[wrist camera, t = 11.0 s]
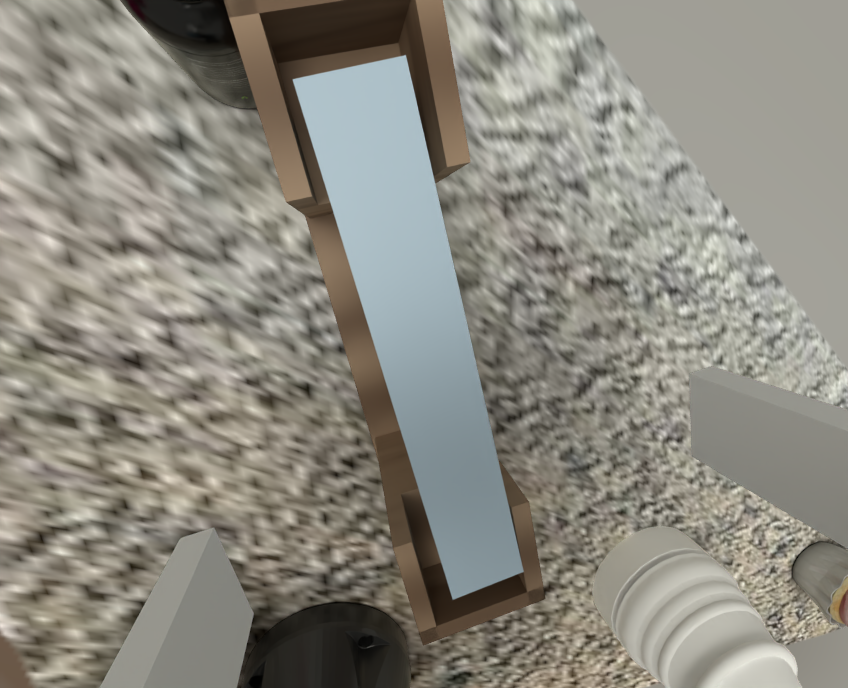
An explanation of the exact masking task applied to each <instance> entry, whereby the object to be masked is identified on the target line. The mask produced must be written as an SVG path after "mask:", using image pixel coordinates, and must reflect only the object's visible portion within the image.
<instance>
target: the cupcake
mask: <svg viewBox="0 0 848 688" xmlns="http://www.w3.org/2000/svg"><path fill="white" fill-rule="evenodd" d="M793 578H794V580H795V581H796V583H797V584H798V585H799V586H800V587H801V588H802V589H803V590H804V591H805V592H806V593H807V595H808V596H809V597H810V598H811V599H812V600H813V601H814V602H815V604H816V605H817V606H818V607H819V609H820V610H821V611H822V613H823V614H824V616H825V617H826V618H827V620H828V621H829V622H830V624H832V625H834V624H837V625H838V627H839V628H841V629H843V628H845V627H847V626H848V550H845V549H843V548H841V547H838V546H836V545H834V544H831V543H826V542H819V543H816V544H813V545H811V546H810V547H808V548H807V549H806V550H804V551H803V552H802V553H801V554H800V556H799V557H798V558H797V560H796V562H795V564H794V567H793Z"/></svg>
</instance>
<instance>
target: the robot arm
mask: <svg viewBox="0 0 848 688" xmlns="http://www.w3.org/2000/svg"><path fill="white" fill-rule="evenodd" d="M689 386H690V417H691V448H692V457H694V458H696V459H697V460H699V461H701V462H702V463H704V464H706V465H707V466H709V467H711V468H712V469H714V470H716V471H717V472H719V473H721V474H722V475H724V476H726V477H727V478H729V479H731V480H733V481H734V482H736V483H738V484H739V485H741V486H743V487H744V488H746V489H748V490H749V491H751V492H753V493H754V494H756V495H758V496H759V497H761V498H763V499H764V500H766V501H768V502H770V503H771V504H773V505H775V506H776V507H778V508H780V509H781V510H783V511H785V512H786V513H788V514H790V515H791V516H793V517H795V518H796V519H798V520H800V521H801V522H803V523H805V524H807V525H808V526H810V527H812V528H813V529H815V530H817V531H818V532H820V533H822V534H823V535H825V536H827V537H828V538H830V539H832V540H833V541H835V542H837V543H838V544H840V545H842V546H844V547H845V548H847V549H848V410H847V409H844V408H841V407H838V406H835V405H832V404H828V403H825V402H822V401H819V400H816V399H813V398H810V397H807V396H804V395H800V394H797V393H794V392H791V391H788V390H785V389H782V388H779V387H776V386H772V385H769V384H766V383H763V382H760V381H757V380H754V379H751V378H748V377H744V376H741V375H738V374H735V373H732V372H729V371H726V370H723V369H719V368H716V367H713V366H711V367H708V368H705V369H701V370H698V371H695V372H692V373H689ZM253 615H254V613H253V611H252V608H251V606H250V604H249V602H248V600H247V598H246V595H245V593H244V591H243V589H242V587H241V585H240V582H239V580H238V578H237V576H236V574H235V572H234V569H233V567H232V565H231V563H230V561H229V559H228V557H227V554H226V552H225V550H224V548H223V546H222V544H221V541H220V539H219V537H218V535H217V533H216V531H215V528H211V529H208V530H204V531H201V532H198V533H195V534H192V535H189V536H186V537H183V538H180V540H179V542H178V544H177V545H176V547H175V549H174V551H173V553H172V555H171V557H170V558H169V560H168V562H167V564H166V566H165V568H164V570H163V571H162V573H161V575H160V577H159V579H158V581H157V582H156V584H155V586H154V588H153V590H152V592H151V594H150V595H149V597H148V599H147V601H146V603H145V605H144V606H143V608H142V610H141V612H140V614H139V616H138V618H137V619H136V621H135V623H134V625H133V627H132V629H131V630H130V632H129V634H128V636H127V638H126V640H125V642H124V643H123V645H122V647H121V649H120V651H119V653H118V655H117V656H116V658H115V660H114V662H113V664H112V666H111V667H110V669H109V671H108V673H107V675H106V677H105V679H104V680H103V682H102V684H101V686H100V688H237V685H238V680H239V676H240V672H241V667H242V663H243V659H244V654H245V650H246V646H247V641H248V637H249V633H250V628H251V624H252V620H253ZM410 681H411V667H410V660H409V654H408V648H407V642H406V639H405V636H404V634H403V632H402V630H401V629H400V627H399V626H398V625H397V624H396V623H395V622H394V621H393V620H392V619H391V618H390V617H388V616H387V615H386V614H384V613H382V612H380V611H378V610H376V609H373V608H370V607H367V606H363V605H358V604H348V603H337V604H328V605H322V606H317V607H313V608H310V609H307V610H304V611H301V612H299V613H297V614H294V615H292V616H290V617H288V618H287V619H285V620H283V621H282V622H280V623H279V624H277V625H276V626H274V627H273V628H272V629H271V630H270V631H268V632H267V633H266V634H265V635H264V636H263V637H262V638H261V640H260V641H259V642H258V643H257V645H256V646H255V647H254V649H253V651H252V652H251V654H250V656H249V659H248V661H247V664H246V668H245V672H244V677H243V681H242V686H241V688H410Z"/></svg>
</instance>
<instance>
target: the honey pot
mask: <svg viewBox="0 0 848 688" xmlns="http://www.w3.org/2000/svg"><path fill="white" fill-rule="evenodd" d="M592 595H593V602H594V604H595V606H596V608H597V610H598V612H599V613H600V615H601V616H602V617H603V619H604V620H605V622H606V623H607V625H608V626H609V628H610V629H611V631H612V632H613V633H614V635H615V636H616V638H617V639H618V640H619V641H620V643H621V645H622V646H623V647H624V648H625V649H626V651H627V653H628V655H629V656H630V657H631V658H632V659H633V660H634V661H635V662H636V663H637V664H638V665H640V666H641V667H642V668H644V669H646V670H648V672H649V673H650V674H651V675H652V676H653V677H654V678H656V679H657V680H658V681H659V682H661V683H663V685H664V687H665V688H802V686H801V684H800V682H799V680H798V679H797V670H798V667H797V664H796V661H795V658H794V656H793V654H792V653H791V652H790V651H789V650H788V649H787V648H786V647H785V646H784V645H782V644H780V643H777V642H775V640H774V639H773V637H772V636H771V634H770V633H769V631H768V630H767V628H766V627H765V625H764V623H763V620H762V617H761V615H760V614H759V613H758V612H757V611H756V610H755V609H754V607H753V606H751V604H750V601H749V600H748V598H747V597H746V596H745V595H744V594H743V593H742V592H741V590H740V589H739V586H738V583H737V581H736V580H735V579H734V578H733V576H732V575H731V574H730V573H729V572H728V571H727V570H726V568H725V567H723V566H722V565H720V564H719V563H718V562H717V561H716V560H715V559H713V558H712V557H711V556H710V554H708V553H707V552H706V551H705V550H704V549H703V548H701V547H700V546H699V545H698V544H697V543H696V542H694V541H693V540H692V539H691V538H690V537H688V536H687V535H686V534H685V533H684V532H682V531H680V530H678V529H676V528H674V527H667V526H656V527H649V528H646V529H643V530H640V531H638V532H635V533H633V534H631V535H630V536H628V537H627V538H625V539H623V540H622V541H620V542H619V543H618V544H617V545H616V546H615V547H614V548H613V549H612V550H611V551H610V552H609V553H608V554H607V556H606V557H605V558H604V560H603V561H602V562H601V564H600V565H599V568H598V570H597V572H596V575H595V577H594V581H593V587H592Z"/></svg>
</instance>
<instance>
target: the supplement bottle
mask: <svg viewBox="0 0 848 688" xmlns="http://www.w3.org/2000/svg"><path fill="white" fill-rule="evenodd" d="M120 1H121V2H122V3H123V5H124V6H125V7H126V8H127V10H128V11H129V12H130V13H131V15H132V16H133V17H134V18H135V19H136V20H137V21H138V22H139V23H140V24H141V26H142V27H143V28H144V29H145V30H146V31H147V32H148V33H149V34H150V35H151V36H152V37H153V38H154V39H155V41H156V42H157V43H158V44H159V45H160V46H161V47H162V48H163V49H164V50H165V51H166V52H167V53H168V54H169V55H170V57H171V58H172V59H173V60H174V61H175V62H176V63H177V64H178V65H179V66H180V67H181V68H182V69H183V70H184V72H185V73H186V74H187V75H188V76H189V77H190V78H191V79H192V80H193V81H194V82H195V83H196V84H197V85H198V86H199V87H200V88H201V89H202V90H203V91H205V92H206V93H207V94H208V95H210V96H211V97H213V98H214V99H216V100H218V101H220V102H222V103H224V104H227V105H230V106H233V107H238V108H256V107H257V106H256V103H255V100H254V97H253V93H252V90H251V87H250V84H249V80H248V77H247V74H246V71H245V68H244V64H243V61H242V58H241V55H240V51H239V48H238V45H237V42H236V38H235V35H234V32H233V29H232V25H231V22H230V19H229V16H228V13H227V9H226V6H225V3H224V0H120Z"/></svg>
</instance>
